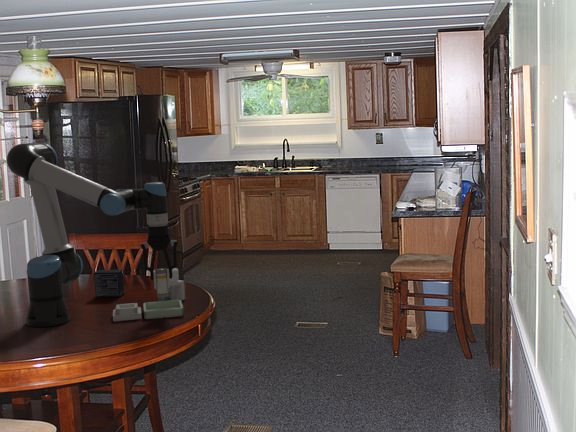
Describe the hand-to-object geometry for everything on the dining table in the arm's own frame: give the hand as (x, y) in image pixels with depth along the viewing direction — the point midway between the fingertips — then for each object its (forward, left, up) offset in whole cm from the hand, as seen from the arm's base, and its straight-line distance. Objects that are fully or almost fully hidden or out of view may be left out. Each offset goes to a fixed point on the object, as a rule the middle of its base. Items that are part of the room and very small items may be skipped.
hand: (162, 287), depth 284 cm
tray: (0, 0, -9) cm, 9 cm away
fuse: (0, 0, -3) cm, 3 cm away
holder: (-13, -1, -9) cm, 16 cm away
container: (+4, +18, -10) cm, 21 cm away
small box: (-20, +37, -10) cm, 43 cm away
